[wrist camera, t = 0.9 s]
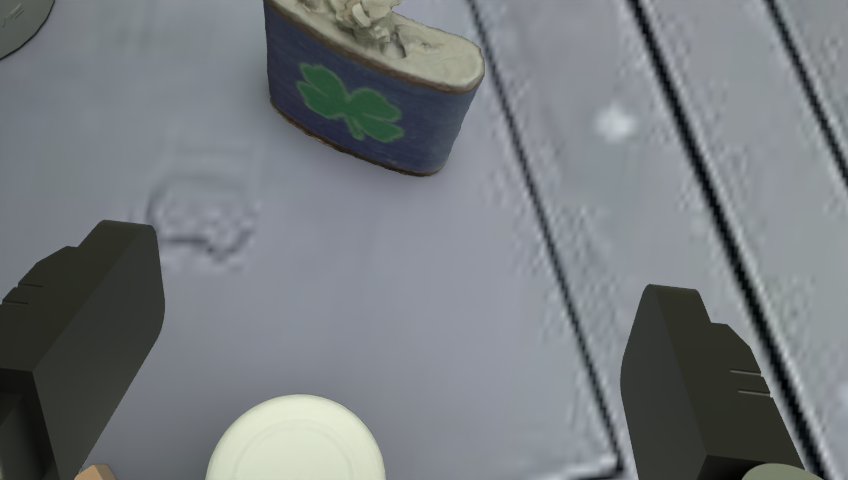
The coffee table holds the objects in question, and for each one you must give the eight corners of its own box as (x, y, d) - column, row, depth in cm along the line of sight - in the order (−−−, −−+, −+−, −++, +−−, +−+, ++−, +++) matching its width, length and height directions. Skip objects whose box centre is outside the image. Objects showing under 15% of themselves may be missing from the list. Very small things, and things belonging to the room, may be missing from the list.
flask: (454, 145, 37) (508, 22, 26) (430, 195, 36) (477, 87, 26) (284, 64, 37) (273, -90, 26) (255, 112, 36) (233, -29, 25)
